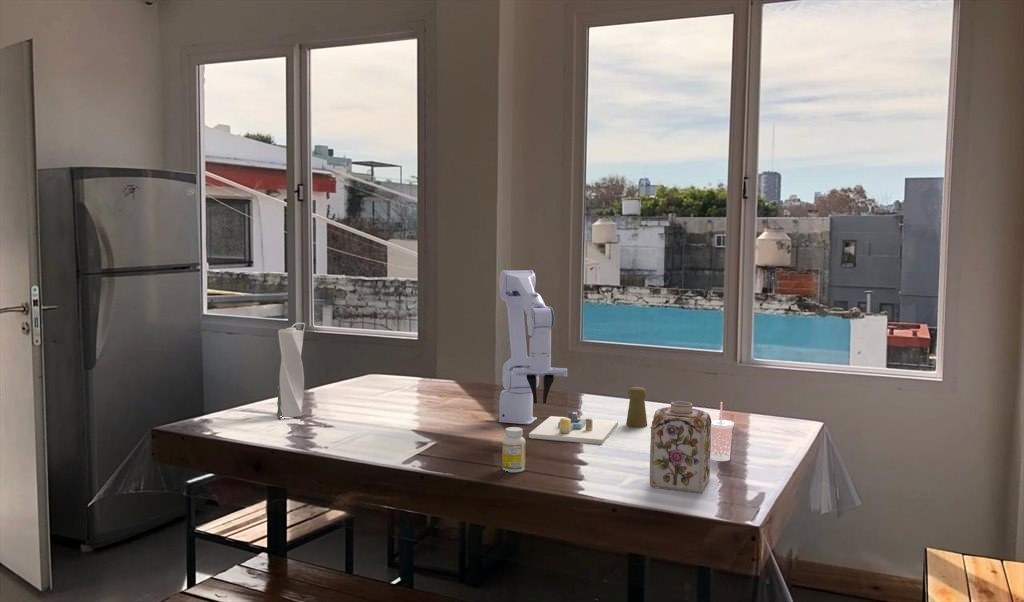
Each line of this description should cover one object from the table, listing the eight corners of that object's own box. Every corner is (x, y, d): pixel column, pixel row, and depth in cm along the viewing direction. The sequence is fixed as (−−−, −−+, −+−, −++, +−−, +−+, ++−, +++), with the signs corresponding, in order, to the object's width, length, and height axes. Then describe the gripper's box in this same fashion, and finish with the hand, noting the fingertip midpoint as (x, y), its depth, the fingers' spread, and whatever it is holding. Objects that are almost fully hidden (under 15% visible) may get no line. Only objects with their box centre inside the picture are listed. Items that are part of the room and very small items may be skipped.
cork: (646, 428, 233) (647, 389, 232) (625, 427, 234) (626, 388, 233) (647, 423, 239) (648, 385, 238) (626, 422, 240) (627, 384, 239)
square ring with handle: (564, 421, 234) (564, 409, 233) (586, 423, 232) (586, 411, 231) (552, 431, 222) (552, 419, 221) (575, 433, 220) (575, 421, 219)
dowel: (585, 434, 225) (585, 419, 224) (586, 433, 226) (586, 418, 226) (591, 435, 224) (591, 420, 224) (592, 433, 226) (593, 418, 225)
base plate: (528, 438, 221) (528, 433, 221) (550, 420, 242) (550, 416, 242) (602, 444, 215) (602, 439, 215) (618, 425, 236) (618, 421, 236)
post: (566, 431, 229) (566, 413, 228) (568, 428, 231) (568, 411, 231) (576, 431, 228) (576, 414, 228) (578, 429, 231) (578, 411, 230)
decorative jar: (648, 487, 179) (649, 405, 177) (658, 473, 190) (660, 395, 188) (704, 494, 175) (706, 410, 173) (711, 478, 186) (713, 399, 184)
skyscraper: (305, 412, 251) (304, 320, 248) (308, 418, 243) (306, 323, 241) (277, 414, 248) (275, 321, 246) (278, 420, 240) (276, 324, 238)
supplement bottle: (515, 474, 188) (515, 433, 187) (497, 469, 192) (497, 429, 191) (530, 469, 192) (530, 428, 192) (512, 464, 196) (512, 425, 195)
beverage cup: (737, 460, 200) (739, 403, 199) (715, 462, 198) (716, 405, 197) (724, 454, 206) (725, 398, 205) (702, 456, 204) (703, 400, 203)
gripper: (513, 354, 216) (513, 406, 217) (568, 354, 216) (568, 405, 217) (512, 350, 223) (512, 400, 224) (566, 350, 223) (565, 400, 224)
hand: (539, 402), depth 221 cm, fingers closed
